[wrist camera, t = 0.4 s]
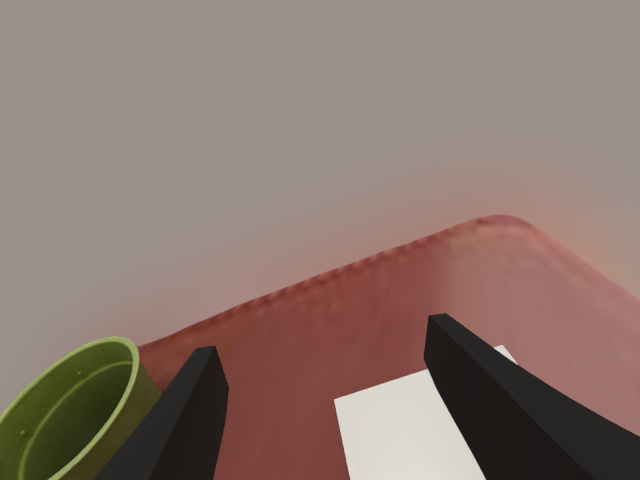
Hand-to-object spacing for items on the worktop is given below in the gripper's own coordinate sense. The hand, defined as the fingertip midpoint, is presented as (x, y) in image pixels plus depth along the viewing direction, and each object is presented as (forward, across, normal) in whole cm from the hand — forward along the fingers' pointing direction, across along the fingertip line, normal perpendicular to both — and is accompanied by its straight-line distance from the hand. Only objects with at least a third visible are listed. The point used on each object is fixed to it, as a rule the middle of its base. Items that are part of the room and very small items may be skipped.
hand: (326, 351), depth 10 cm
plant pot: (+11, +17, +23) cm, 30 cm away
